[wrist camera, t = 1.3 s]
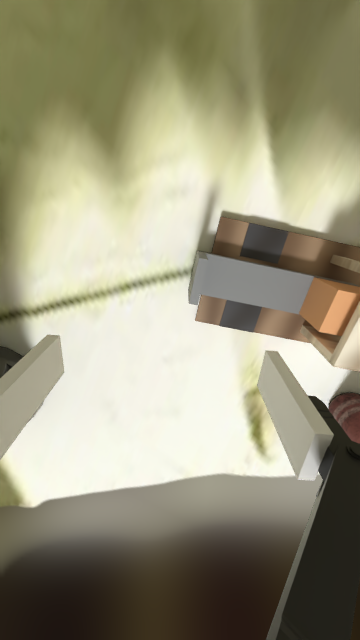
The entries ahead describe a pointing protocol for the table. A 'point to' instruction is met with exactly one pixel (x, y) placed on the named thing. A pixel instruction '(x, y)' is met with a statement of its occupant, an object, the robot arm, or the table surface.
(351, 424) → the can
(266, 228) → the tunnel board
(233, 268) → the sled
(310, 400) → the robot arm
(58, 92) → the table surface
